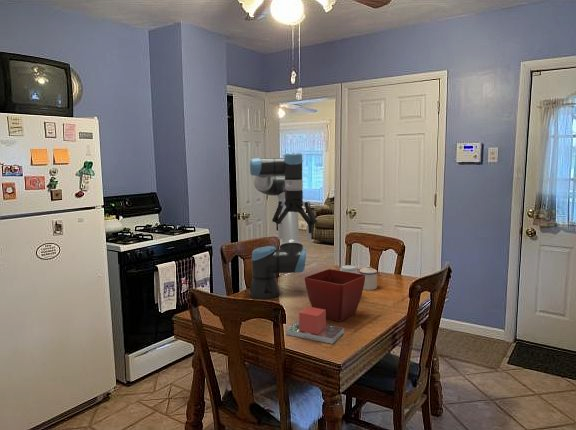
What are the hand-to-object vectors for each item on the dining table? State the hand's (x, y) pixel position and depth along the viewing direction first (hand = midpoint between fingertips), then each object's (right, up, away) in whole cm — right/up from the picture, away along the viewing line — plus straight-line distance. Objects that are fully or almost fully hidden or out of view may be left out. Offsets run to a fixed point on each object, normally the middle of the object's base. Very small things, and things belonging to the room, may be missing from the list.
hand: (294, 239), depth 184 cm
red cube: (+6, -32, -22) cm, 39 cm away
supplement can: (+26, -29, +22) cm, 45 cm away
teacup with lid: (+37, -27, +37) cm, 59 cm away
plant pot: (+17, -32, -1) cm, 36 cm away
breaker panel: (+7, -34, -21) cm, 41 cm away
